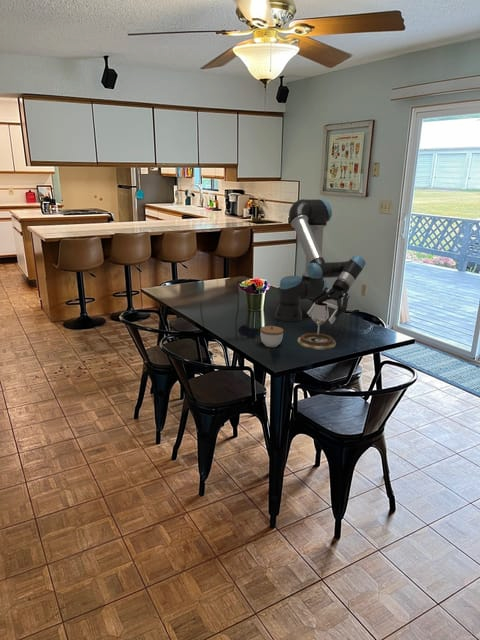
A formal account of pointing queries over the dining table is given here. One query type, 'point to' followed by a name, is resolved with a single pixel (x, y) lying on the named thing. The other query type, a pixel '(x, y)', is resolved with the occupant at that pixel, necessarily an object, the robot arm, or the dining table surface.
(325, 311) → the wineglass
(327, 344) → the ring tray
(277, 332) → the lidded jar
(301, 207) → the robot arm
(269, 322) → the dining table surface
